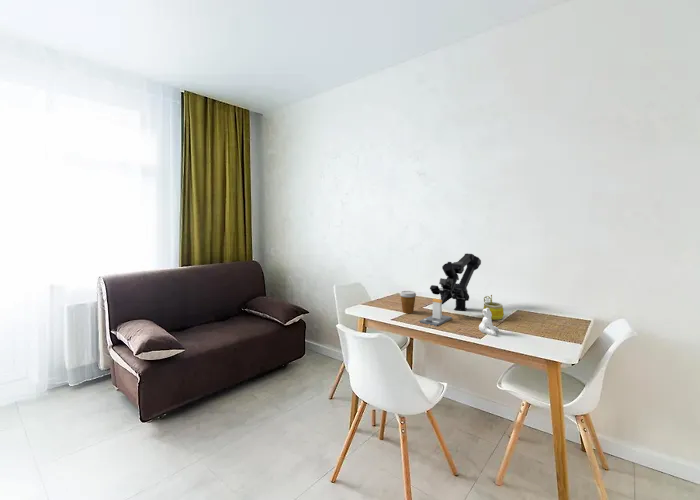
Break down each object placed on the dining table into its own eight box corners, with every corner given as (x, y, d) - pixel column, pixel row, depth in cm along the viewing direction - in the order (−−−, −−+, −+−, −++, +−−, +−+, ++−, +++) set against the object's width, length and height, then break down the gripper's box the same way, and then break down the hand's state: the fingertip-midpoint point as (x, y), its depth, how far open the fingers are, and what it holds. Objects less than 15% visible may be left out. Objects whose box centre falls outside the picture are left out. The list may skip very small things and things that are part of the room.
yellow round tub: (505, 321, 183) (506, 299, 182) (484, 320, 185) (485, 298, 184) (500, 314, 196) (501, 294, 195) (480, 314, 198) (480, 293, 197)
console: (435, 315, 195) (435, 312, 195) (452, 318, 188) (452, 315, 188) (419, 322, 182) (419, 318, 182) (436, 326, 175) (436, 322, 175)
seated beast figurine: (495, 336, 159) (496, 311, 158) (476, 333, 164) (477, 309, 163) (499, 331, 167) (499, 307, 166) (480, 328, 172) (481, 305, 171)
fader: (434, 316, 188) (434, 298, 187) (441, 318, 185) (442, 300, 184) (432, 317, 186) (432, 299, 186) (439, 319, 183) (440, 300, 183)
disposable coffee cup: (415, 310, 207) (415, 290, 206) (416, 314, 197) (417, 294, 196) (399, 309, 208) (399, 290, 207) (400, 314, 198) (400, 293, 197)
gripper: (431, 271, 198) (421, 293, 190) (462, 274, 185) (453, 298, 178) (437, 282, 204) (428, 304, 197) (468, 286, 192) (459, 309, 184)
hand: (441, 303), depth 189 cm, fingers closed
